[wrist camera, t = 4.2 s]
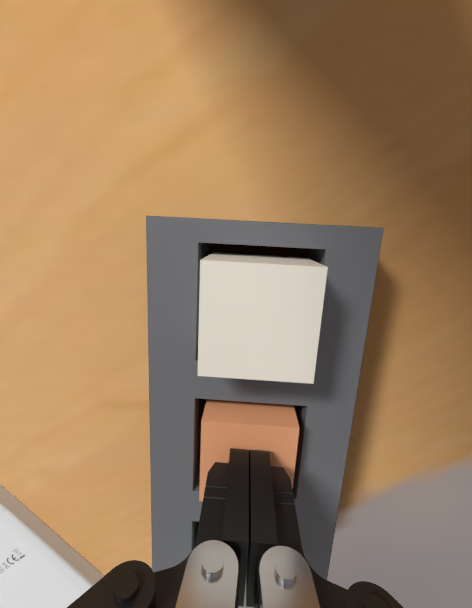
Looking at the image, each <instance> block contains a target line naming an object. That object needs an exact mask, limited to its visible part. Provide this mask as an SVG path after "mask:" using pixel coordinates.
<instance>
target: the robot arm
mask: <svg viewBox="0 0 472 608" xmlns="http://www.w3.org/2000/svg"><path fill="white" fill-rule="evenodd" d="M245 582H246V607H254V608H403V607H402V606H401V605H400V604H399V603H398V602H397V601H396V600H395V599H394V598H393V597H392V596H391V595H390V594H389V593H388V592H387V591H385V590H384V589H383V588H381V587H379V586H378V585H376V584H373V583H370V582H363V581H361V582H357V583H355V584H353V585H352V586H350V588H349V589H348V590H347V589H344V588H342V587H340V586H338V585H336V584H333V583H331V582H329V581H327V580H325V579H324V578H322V577H321V576H319V575H318V574H317V573H316V572H315V571H314V570H313V569H312V568H311V566H310V565H309V563H308V562H307V560H306V558H305V556H304V553H303V549H302V544H301V538H300V532H299V526H298V520H297V514H296V508H295V502H294V496H293V490H292V484H291V479H290V477H289V476H288V474H287V472H286V471H285V469H284V468H283V467H275V466H271V464H270V453H269V451H264V450H250V458H249V449H236V448H230V455H229V463H221V462H215V463H214V464H213V466H212V467H211V469H210V470H209V471H208V474H207V480H206V486H205V491H204V498H203V503H202V509H201V514H200V520H199V526H198V532H197V537H196V542H195V545H194V548H193V549H192V551H191V553H190V554H189V555H188V557H187V558H186V559H185V560H184V561H182V562H181V563H179V564H178V565H176V566H174V567H171V568H168V569H164V570H161V571H157V572H154V573H153V571H152V569H151V568H150V567H149V566H148V565H147V564H146V563H144V562H141V561H137V560H133V561H127V562H124V563H121V564H120V565H118V566H116V567H115V568H114V569H112V570H111V571H110V572H109V573H107V574H106V575H105V576H104V577H103V578H101V579H100V580H99V581H98V582H97V583H95V584H94V585H93V586H92V587H91V588H90V589H88V590H87V591H86V592H85V593H84V594H82V595H81V596H80V597H79V598H78V599H76V600H75V601H74V602H73V603H72V604H70V605H69V606H68V607H67V608H238V606H244V595H245Z"/></svg>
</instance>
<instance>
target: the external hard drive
mask: <svg viewBox="0 0 472 608" xmlns="http://www.w3.org/2000/svg"><path fill="white" fill-rule="evenodd" d="M103 577H104V575H103V574H102V573H101V572H99V571H98V570H97V569H96V568H95V567H94V566H93V565H91V564H90V563H89V562H88V561H87V560H86V559H85V558H83V557H82V556H81V555H80V554H79V553H78V552H77V551H76V550H74V549H73V548H72V547H71V546H70V545H69V544H68V543H66V542H65V541H64V540H63V539H62V538H61V537H60V536H59V535H57V534H56V533H55V532H54V531H53V530H52V529H51V528H49V527H48V526H47V525H46V524H45V523H44V522H43V521H42V520H40V519H39V518H38V517H37V516H36V515H35V514H34V513H32V512H31V511H30V510H29V509H28V508H27V507H26V506H24V505H23V504H22V503H21V502H20V501H19V500H18V499H16V498H15V497H14V496H13V495H12V494H11V493H10V492H9V491H7V490H6V489H5V488H4V487H3V486H2V485H0V608H67V607H68V606H69V605H70V604H72V603H73V602H74V601H75V600H76V599H78V598H79V597H80V596H81V595H82V594H84V593H85V592H86V591H87V590H88V589H90V588H91V587H92V586H93V585H94V584H95V583H97V582H98V581H99V580H100V579H101V578H103Z"/></svg>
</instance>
